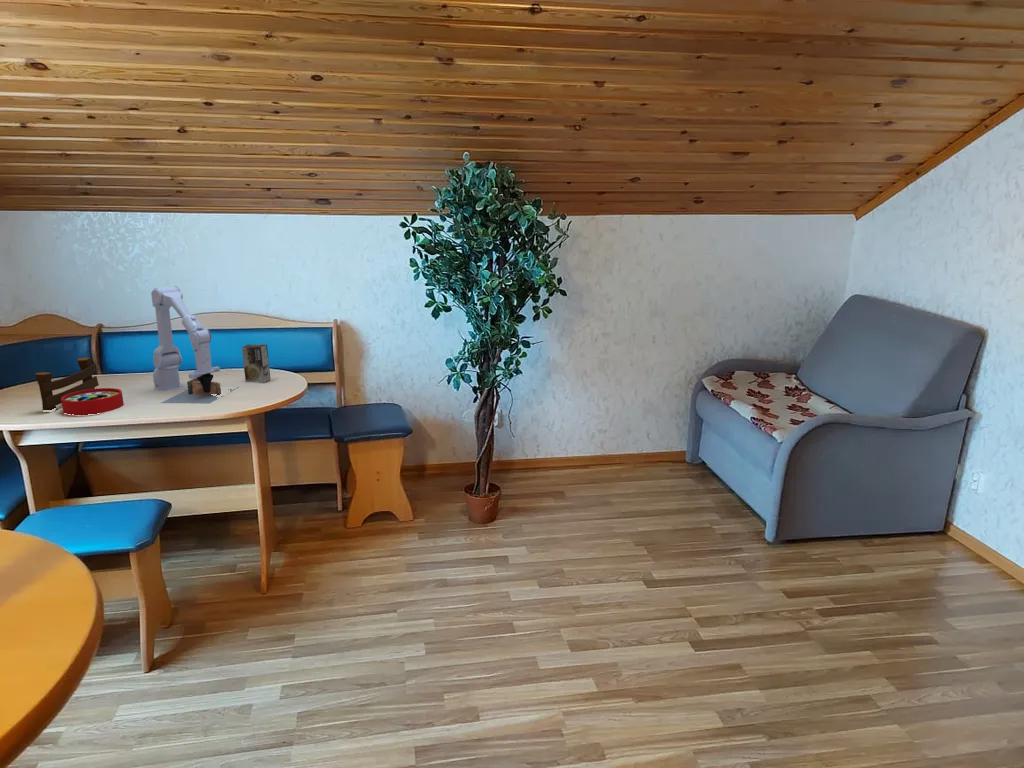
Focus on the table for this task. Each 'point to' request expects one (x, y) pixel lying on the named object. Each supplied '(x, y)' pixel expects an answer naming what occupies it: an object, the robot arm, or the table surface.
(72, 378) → the decorative fence
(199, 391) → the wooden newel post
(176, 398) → the board
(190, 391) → the dark brown wooden bar
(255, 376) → the coffee box
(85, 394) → the toy clock
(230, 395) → the table surface
